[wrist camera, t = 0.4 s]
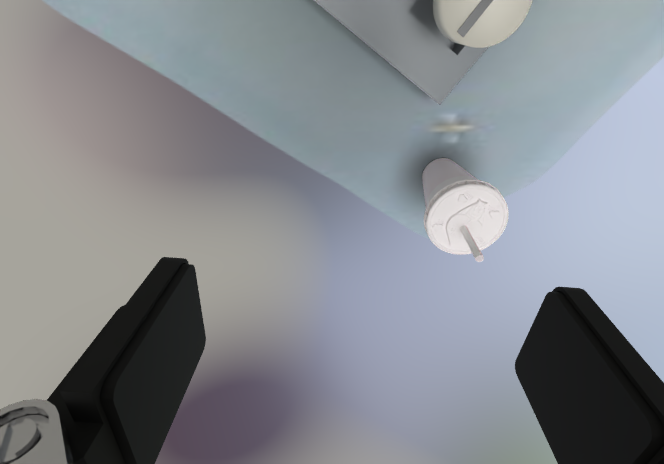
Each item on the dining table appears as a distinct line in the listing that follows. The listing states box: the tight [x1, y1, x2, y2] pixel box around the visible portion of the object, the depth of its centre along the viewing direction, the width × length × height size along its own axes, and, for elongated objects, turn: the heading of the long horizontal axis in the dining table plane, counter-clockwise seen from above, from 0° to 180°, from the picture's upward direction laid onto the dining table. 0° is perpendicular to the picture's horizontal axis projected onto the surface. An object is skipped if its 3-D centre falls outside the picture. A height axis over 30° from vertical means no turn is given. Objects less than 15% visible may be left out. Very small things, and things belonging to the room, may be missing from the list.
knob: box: [433, 0, 532, 48], centre depth 23 cm, size 5×5×6 cm
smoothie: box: [422, 158, 508, 262], centre depth 31 cm, size 6×6×14 cm
